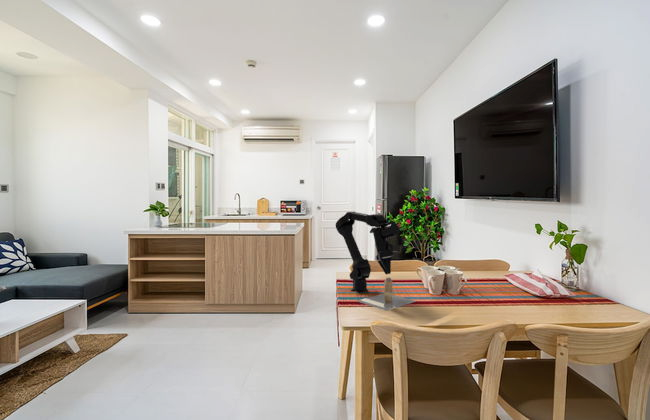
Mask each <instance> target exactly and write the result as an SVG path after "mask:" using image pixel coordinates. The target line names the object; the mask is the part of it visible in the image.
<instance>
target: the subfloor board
mask: <svg viewBox="0 0 650 420" xmlns="http://www.w3.org/2000/svg"><path fill="white" fill-rule="evenodd" d="M356 302H358V303H361V304H364V305H367V306H370V307H373V308H377V309H380V310H383V311H386V312H388V311H391V310H394V309H397V308H401V307H402V306H407V305H409V304H412V303H415V302H417V300H414V299H409V298H405V297H403V296H399V295H395V294H392V302H393V308H385V307H384V293H382V294H377V295H374V296H369V297H366V298H365V297H364V298H362V299H358V300H356Z"/></svg>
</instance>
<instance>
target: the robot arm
mask: <svg viewBox="0 0 650 420" xmlns="http://www.w3.org/2000/svg"><path fill="white" fill-rule="evenodd" d="M357 221H358V222H362V223H365V224H366V225H368V226H369V227H371V229H370V231H369V233H370V234H372V235H373V239H374V246H375V249H376V255H375V259H376V262H377V263H378V265H379V266H380V267H381V269H382V271H383V272H384V274H385V275H390V274H391V273H392V272H391V267H392V265H391V263H392V260H393V258H394V255H395V253H396V254H401V252H402V245H398V244H394V243H393V244H391V243H390V241H389V240H388V239H390V238H393V237H397V236H399V235H400V232H401V231H400V230H401V229H400V227H399V225H398V224H397V223H396V222H395V220H390V221H388V219H386V218H385V215H384V214H382V213H381V214H379V213H378V214H377V213H376V214H367V213H362V212H356V211H347V212H346V213H345V214H344V215H342V216H341V217H340V218H339V219H337V220H336V222H335V228H336V231H337V232H338V233H339V235H341V237H343V240H344V242H345V245H346V247H347V250H348V252H349V254H350V256H351V257H350V258H351V259H352V265H351V267H352V270H351V272H350V273H349V279H350V280H352V288H351V289H352V290H353V291H352V290H351V291H352V292H355V291H357V292H356V293H358V292H361V293H364V292H363V291H365V292H368V291H369V289H368V288H367V287H368V284H367V279H369V278H370V275H371V271H372V267H371V265H370V262H369V259H368V258H366V259H364V258H363V256H362V253H361V252H360V249H359V247H358V245H357V242H356V240H355V237H354V235H353V231H354V230H353V229H354V228H353V226H354V224H355V222H357ZM367 290H368V291H367Z"/></svg>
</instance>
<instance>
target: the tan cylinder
mask: <svg viewBox="0 0 650 420" xmlns="http://www.w3.org/2000/svg"><path fill="white" fill-rule="evenodd" d="M383 287H384V289H383V290H384V293H383V294H384V307H385V308H393V302H392V295H393V280H392V278H391V277H386V278H385V279H384V286H383Z"/></svg>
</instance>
